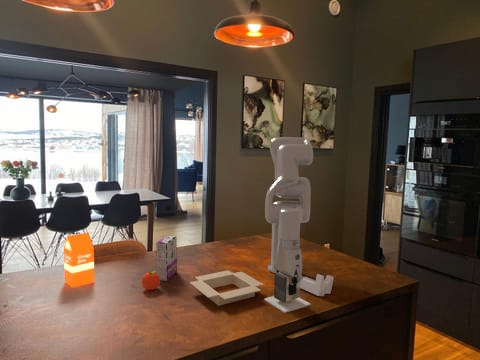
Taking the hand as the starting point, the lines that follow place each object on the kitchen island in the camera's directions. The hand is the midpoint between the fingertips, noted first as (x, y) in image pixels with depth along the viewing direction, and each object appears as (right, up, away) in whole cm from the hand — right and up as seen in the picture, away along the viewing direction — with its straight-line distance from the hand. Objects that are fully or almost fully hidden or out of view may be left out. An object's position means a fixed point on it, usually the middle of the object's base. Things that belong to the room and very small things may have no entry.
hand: (287, 291), depth 135 cm
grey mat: (0, -4, 0) cm, 4 cm away
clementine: (-51, -3, +10) cm, 53 cm away
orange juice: (-82, -1, +16) cm, 84 cm away
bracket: (+12, -4, +13) cm, 18 cm away
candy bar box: (-48, -1, +24) cm, 54 cm away
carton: (-22, -3, +7) cm, 24 cm away
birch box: (0, -2, 0) cm, 2 cm away
